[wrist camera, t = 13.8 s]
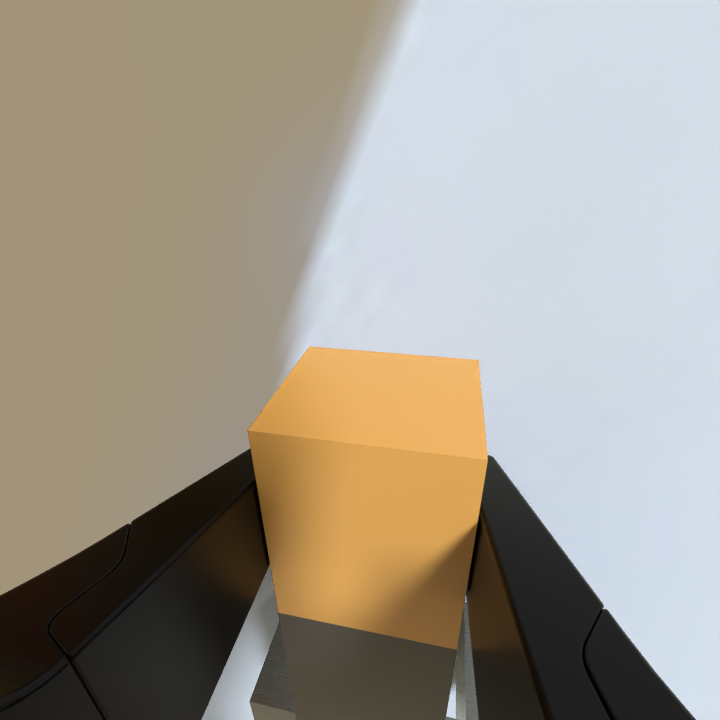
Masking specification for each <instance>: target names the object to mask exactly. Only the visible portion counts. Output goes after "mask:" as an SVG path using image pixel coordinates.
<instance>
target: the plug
mask: <svg viewBox="0 0 720 720" xmlns="http://www.w3.org/2000/svg"><path fill="white" fill-rule="evenodd" d="M248 436H249V441H250V448H251V454H252V459H253V465H254V471H255V477H256V483H257V489H258V495H259V501H260V507H261V513H262V519H263V525H264V531H265V537H266V543H267V549H268V554H269V560H270V566H271V572H272V578H273V584H274V590H275V596H276V602H277V608H278V614H279V620H280V626H281V632H282V638H283V644H284V649H285V655H286V661H287V667H288V673H289V679H290V685H291V691H292V697H293V703H294V709H295V715H296V720H445V719H446V713H447V707H448V701H449V694H450V688H451V682H452V676H453V670H454V664H455V658H456V652H457V646H458V639H459V633H460V627H461V621H462V615H463V609H464V603H465V597H466V591H467V584H468V578H469V572H470V566H471V560H472V554H473V548H474V542H475V536H476V529H477V523H478V517H479V511H480V505H481V499H482V493H483V487H484V481H485V474H486V468H487V462H488V456H487V446H486V435H485V425H484V414H483V403H482V393H481V382H480V372H479V361H478V360H471V359H459V358H446V357H434V356H421V355H408V354H396V353H383V352H371V351H358V350H346V349H333V348H321V347H309V348H308V349H307V350H306V352H305V353H304V355H303V356H302V357H301V359H300V360H299V361H298V363H297V364H296V365H295V367H294V368H293V369H292V371H291V372H290V374H289V375H288V376H287V378H286V379H285V380H284V382H283V383H282V384H281V386H280V387H279V388H278V390H277V391H276V393H275V394H274V395H273V397H272V398H271V399H270V401H269V402H268V403H267V405H266V406H265V408H264V409H263V410H262V412H261V413H260V414H259V416H258V417H257V419H256V420H255V421H254V422H253V424H252V425H251V427H250V428H249V429H248Z"/></svg>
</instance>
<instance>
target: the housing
mask: <svg viewBox="0 0 720 720" xmlns="http://www.w3.org/2000/svg"><path fill="white" fill-rule="evenodd" d="M250 705H251V708H252V712H253V716H254V720H296V715H295V709H294V703H293V697H292V691H291V685H290V679H289V673H288V667H287V661H286V655H285V649H284V644H283V638H282V632H281V626H280V622H279V624H278V627H277V630H276V632H275V635H274V638H273V640H272V643H271V646H270V648H269V651H268V654H267V656H266V659H265V662H264V664H263V667H262V670H261V672H260V675H259V678H258V680H257V683H256V686H255V689H254V691H253V694H252V697H251V699H250ZM445 720H479V718H478V708H477V698H476V688H475V678H474V668H473V658H472V648H471V638H470V628H469V618H468V608H467V603H464V609H463V615H462V621H461V627H460V633H459V639H458V646H457V652H456V719H454V718H450V717H446V719H445Z"/></svg>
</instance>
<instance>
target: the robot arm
mask: <svg viewBox="0 0 720 720" xmlns="http://www.w3.org/2000/svg"><path fill="white" fill-rule="evenodd" d="M487 456H488V462H487V468H486V474H485V481H484V487H483V493H482V499H481V505H480V511H479V517H478V523H477V529H476V536H475V542H474V548H473V554H472V560H471V566H470V572H469V578H468V584H467V591H466V598H467V608H468V618H469V628H470V638H471V648H472V658H473V668H474V678H475V688H476V698H477V708H478V718H479V720H696V719H695V718H694V717H693V716H692V715H691V713H690V712H689V711H688V710H687V709H686V708H685V706H684V705H683V704H682V703H681V702H680V700H679V699H678V698H677V697H676V696H675V695H674V693H673V692H672V691H671V690H670V689H669V687H668V686H667V685H666V684H665V683H664V682H663V680H662V679H661V678H660V677H659V676H658V674H657V673H656V672H655V671H654V670H653V668H652V667H651V666H650V664H649V663H648V662H647V661H646V659H645V658H644V657H643V656H642V654H641V653H640V652H639V650H638V649H637V648H636V647H635V645H634V644H633V643H632V641H631V640H630V639H629V638H628V636H627V635H626V634H625V632H624V631H623V630H622V628H621V627H620V626H619V624H618V623H617V622H616V620H615V619H614V618H613V616H612V615H611V614H610V612H609V611H608V610H607V609H603V608H604V605H603V603H602V602H601V601H600V599H599V598H598V597H597V595H596V594H595V593H594V591H593V590H592V589H591V587H590V586H589V585H588V583H587V582H586V580H585V579H584V578H583V576H582V575H581V574H580V572H579V571H578V570H577V568H576V567H575V566H574V564H573V563H572V562H571V560H570V559H569V558H568V556H567V555H566V554H565V552H564V551H563V550H562V548H561V547H560V546H559V544H558V543H557V542H556V540H555V539H554V538H553V536H552V535H551V534H550V532H549V531H548V530H547V528H546V527H545V526H544V524H543V523H542V522H541V520H540V519H539V518H538V516H537V515H536V514H535V512H534V511H533V509H532V508H531V507H530V505H529V504H528V503H527V501H526V500H525V499H524V497H523V496H522V495H521V493H520V492H519V491H518V489H517V488H516V487H515V485H514V484H513V483H512V481H511V480H510V479H509V477H508V476H507V475H506V473H505V472H504V471H503V469H502V468H501V467H500V465H499V464H498V463H497V461H496V460H495V459H494V457H492V456H490V455H487ZM269 565H270V560H269V554H268V549H267V543H266V537H265V531H264V525H263V519H262V513H261V507H260V501H259V495H258V489H257V483H256V477H255V471H254V465H253V459H252V454H251V448H250V449H248V450H247V451H245V452H244V453H242V454H240V455H239V456H237V457H235V458H234V459H232V460H231V461H229V462H227V463H226V464H224V465H222V466H221V467H219V468H217V469H216V470H214V471H213V472H211V473H210V474H208V475H206V476H204V477H203V478H201V479H200V480H198V481H196V482H195V483H193V484H192V485H190V486H188V487H187V488H185V489H183V490H182V491H180V492H179V493H177V494H175V495H174V496H172V497H170V498H169V499H167V500H165V501H164V502H162V503H161V504H159V505H157V506H156V507H154V508H152V509H151V510H149V511H148V512H146V513H144V514H143V515H141V516H139V517H138V518H136V519H135V520H133V521H132V522H131V525H130V524H126V525H125V526H123V527H121V528H120V529H118V530H116V531H115V532H113V533H112V534H110V535H108V536H107V537H105V538H104V539H102V540H100V541H98V542H96V543H95V544H93V545H92V546H90V547H88V548H86V549H85V550H83V551H81V552H80V553H78V554H76V555H74V556H73V557H71V558H69V559H67V560H65V561H64V562H62V563H60V564H58V565H56V566H55V567H53V568H51V569H49V570H47V571H45V572H44V573H42V574H40V575H38V576H36V577H34V578H32V579H31V580H29V581H27V582H25V583H23V584H21V585H19V586H17V587H15V588H14V589H12V590H10V591H8V592H6V593H4V594H3V595H0V720H201V719H202V717H203V715H204V712H205V710H206V708H207V706H208V703H209V701H210V699H211V696H212V694H213V692H214V690H215V687H216V685H217V683H218V681H219V678H220V676H221V674H222V671H223V669H224V667H225V665H226V662H227V660H228V658H229V656H230V653H231V651H232V649H233V646H234V644H235V642H236V640H237V637H238V635H239V633H240V631H241V628H242V626H243V624H244V621H245V619H246V617H247V615H248V612H249V610H250V608H251V606H252V603H253V601H254V599H255V596H256V594H257V592H258V590H259V587H260V585H261V583H262V581H263V578H264V576H265V574H266V571H267V569H268V567H269Z"/></svg>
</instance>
